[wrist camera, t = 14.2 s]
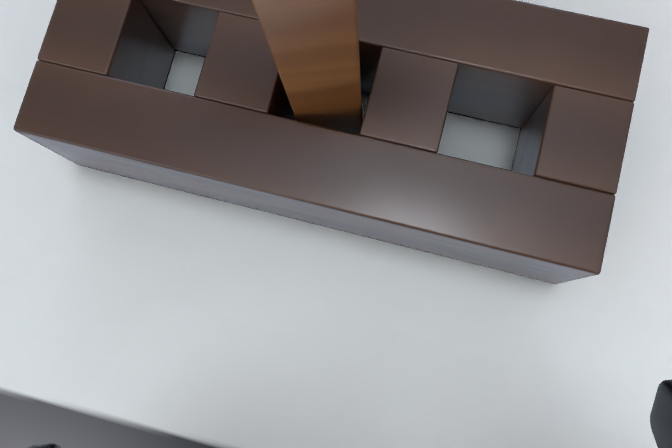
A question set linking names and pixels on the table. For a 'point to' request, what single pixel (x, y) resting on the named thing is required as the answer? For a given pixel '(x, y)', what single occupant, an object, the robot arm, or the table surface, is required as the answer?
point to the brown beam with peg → (316, 58)
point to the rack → (377, 126)
